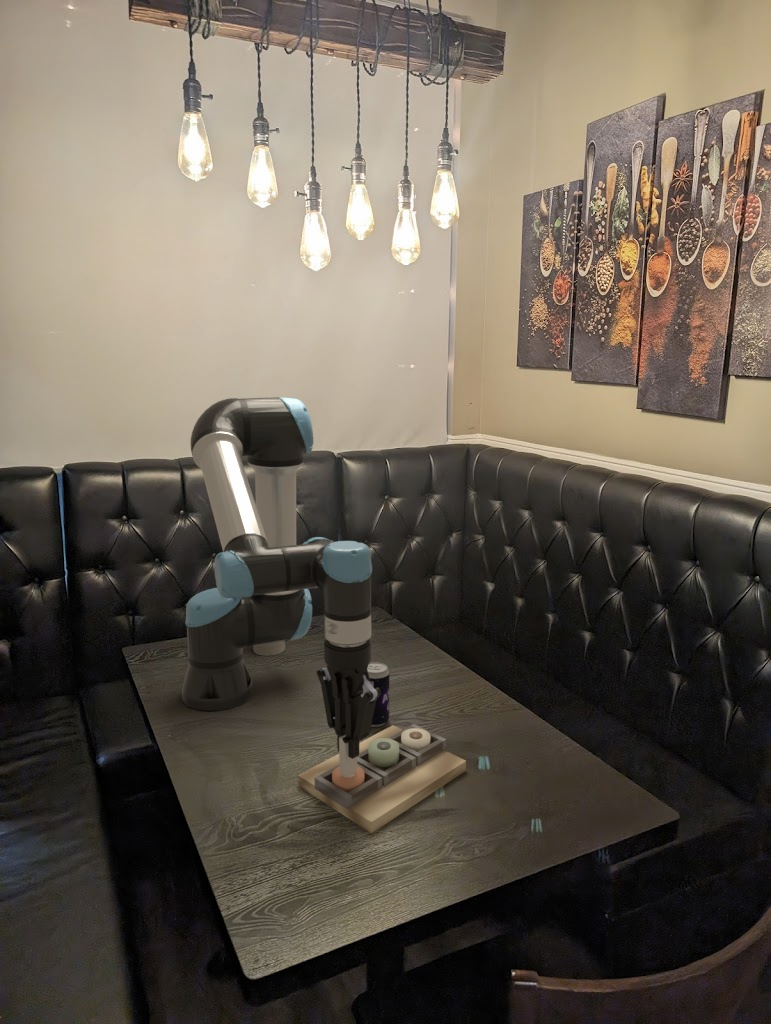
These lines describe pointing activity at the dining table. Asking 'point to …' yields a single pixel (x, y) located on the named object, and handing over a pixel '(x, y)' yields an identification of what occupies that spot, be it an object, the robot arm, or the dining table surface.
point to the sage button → (383, 752)
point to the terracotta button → (348, 779)
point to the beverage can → (381, 681)
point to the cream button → (415, 739)
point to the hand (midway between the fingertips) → (348, 771)
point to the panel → (385, 780)
